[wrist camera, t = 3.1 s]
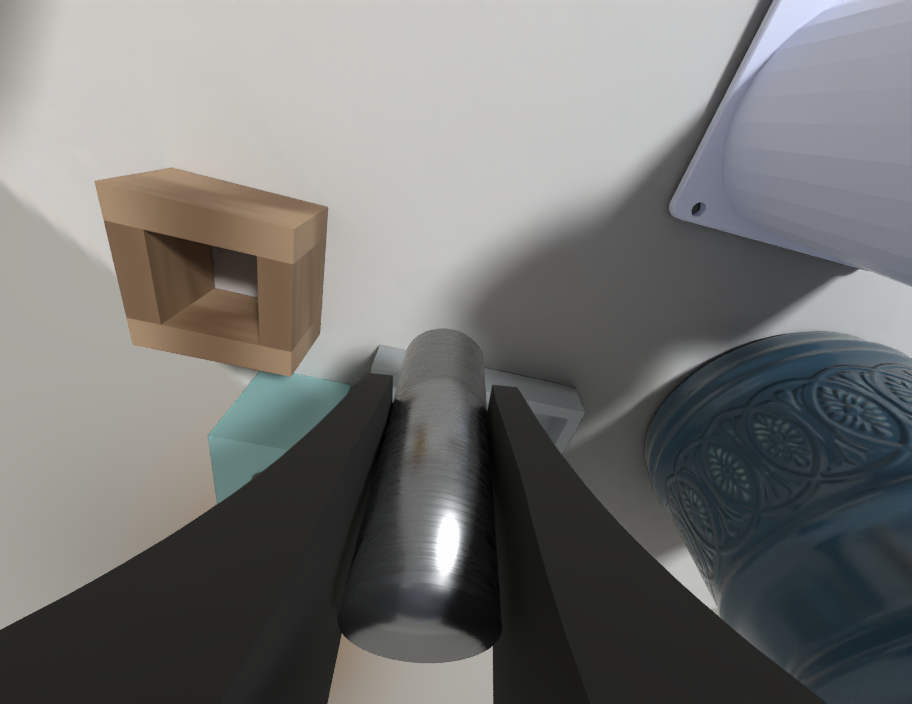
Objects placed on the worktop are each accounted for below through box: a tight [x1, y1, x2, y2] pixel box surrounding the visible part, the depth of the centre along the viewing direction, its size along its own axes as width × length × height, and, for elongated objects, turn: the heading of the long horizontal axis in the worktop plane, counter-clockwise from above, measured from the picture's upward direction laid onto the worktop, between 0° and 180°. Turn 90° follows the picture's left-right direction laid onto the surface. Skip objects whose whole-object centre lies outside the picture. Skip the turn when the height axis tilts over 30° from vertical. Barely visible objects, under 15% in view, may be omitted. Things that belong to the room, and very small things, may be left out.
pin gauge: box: [337, 329, 502, 663], centre depth 9 cm, size 2×2×7 cm
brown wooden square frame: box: [95, 168, 328, 377], centre depth 15 cm, size 6×6×4 cm
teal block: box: [208, 371, 351, 504], centre depth 19 cm, size 4×4×5 cm
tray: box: [370, 345, 585, 454], centre depth 21 cm, size 10×10×2 cm
